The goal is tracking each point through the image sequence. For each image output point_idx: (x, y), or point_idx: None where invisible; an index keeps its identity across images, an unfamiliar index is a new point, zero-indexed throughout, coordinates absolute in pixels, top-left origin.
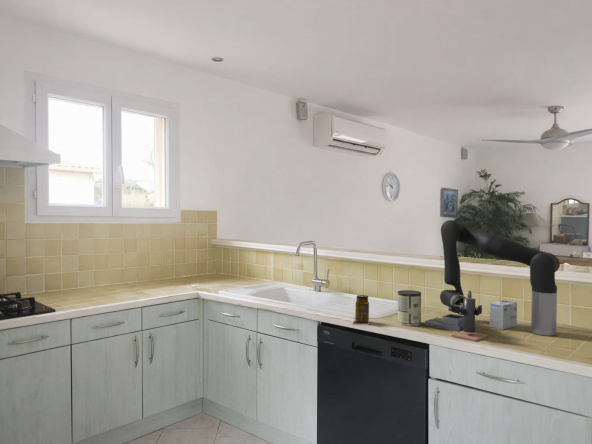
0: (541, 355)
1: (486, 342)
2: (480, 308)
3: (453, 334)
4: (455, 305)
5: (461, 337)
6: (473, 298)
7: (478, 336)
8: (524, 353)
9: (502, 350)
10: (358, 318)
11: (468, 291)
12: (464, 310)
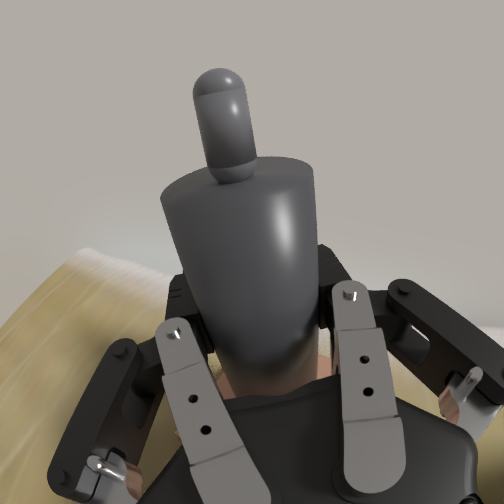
0: (105, 275)
1: None
2: (127, 341)
3: None
4: (456, 426)
5: (321, 358)
6: (169, 205)
7: (229, 390)
8: (135, 275)
9: None
10: None
11: (234, 73)
12: None
